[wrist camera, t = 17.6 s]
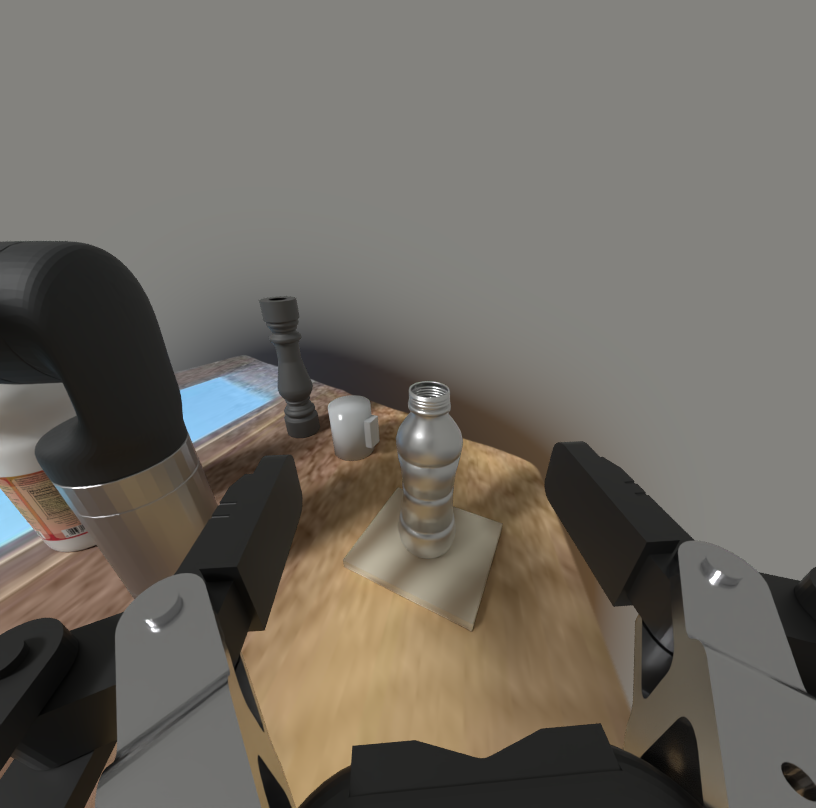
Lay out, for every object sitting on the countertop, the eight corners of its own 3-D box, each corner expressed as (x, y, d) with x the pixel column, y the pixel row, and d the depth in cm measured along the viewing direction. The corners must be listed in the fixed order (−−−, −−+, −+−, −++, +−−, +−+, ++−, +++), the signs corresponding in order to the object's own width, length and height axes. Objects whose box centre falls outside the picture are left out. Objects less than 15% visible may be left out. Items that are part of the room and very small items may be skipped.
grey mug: (326, 454, 55) (318, 409, 51) (350, 434, 60) (345, 392, 56) (365, 467, 51) (360, 420, 47) (386, 445, 57) (384, 401, 53)
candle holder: (286, 440, 59) (254, 303, 47) (288, 424, 64) (259, 297, 52) (320, 435, 60) (297, 300, 49) (319, 419, 66) (298, 295, 54)
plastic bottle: (424, 511, 41) (426, 370, 32) (466, 543, 37) (482, 389, 27) (387, 541, 37) (376, 388, 28) (429, 580, 33) (432, 415, 24)
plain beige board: (344, 566, 36) (342, 560, 35) (398, 493, 46) (397, 487, 45) (471, 631, 29) (472, 624, 29) (501, 530, 40) (502, 523, 39)
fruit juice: (26, 553, 38) (-177, 321, 25) (99, 497, 46) (-26, 301, 33) (99, 556, 37) (-70, 320, 24) (159, 499, 46) (57, 300, 33)
